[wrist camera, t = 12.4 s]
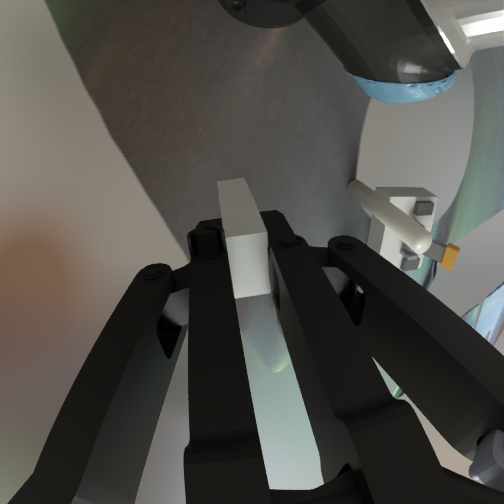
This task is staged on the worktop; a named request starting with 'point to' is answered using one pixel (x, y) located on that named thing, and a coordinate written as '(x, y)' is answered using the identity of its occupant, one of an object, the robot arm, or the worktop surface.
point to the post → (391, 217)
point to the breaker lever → (441, 253)
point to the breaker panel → (414, 205)
